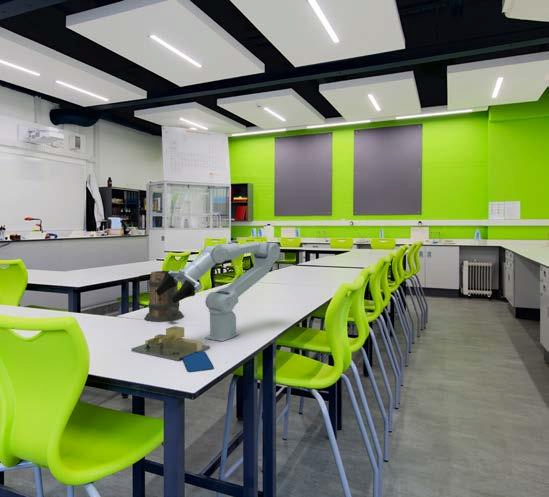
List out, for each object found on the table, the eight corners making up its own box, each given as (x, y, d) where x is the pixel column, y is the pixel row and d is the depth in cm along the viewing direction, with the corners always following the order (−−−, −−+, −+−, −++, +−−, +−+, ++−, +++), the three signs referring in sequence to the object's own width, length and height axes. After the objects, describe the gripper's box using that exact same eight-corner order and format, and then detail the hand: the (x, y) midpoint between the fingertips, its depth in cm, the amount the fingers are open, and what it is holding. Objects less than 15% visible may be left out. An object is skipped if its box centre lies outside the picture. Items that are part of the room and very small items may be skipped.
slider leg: (175, 342, 131) (174, 326, 131) (184, 344, 129) (184, 327, 129) (155, 349, 124) (155, 331, 124) (165, 351, 122) (164, 333, 122)
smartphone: (187, 371, 107) (180, 353, 121) (187, 375, 107) (180, 356, 121) (214, 368, 109) (205, 350, 123) (214, 371, 109) (205, 353, 123)
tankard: (139, 316, 176) (138, 270, 175) (177, 311, 185) (176, 268, 184) (153, 327, 156) (152, 276, 155) (194, 322, 165) (194, 273, 163)
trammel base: (164, 340, 138) (164, 330, 138) (209, 348, 128) (209, 338, 128) (131, 350, 126) (131, 340, 126) (178, 361, 116) (178, 350, 116)
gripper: (177, 255, 134) (145, 280, 127) (207, 267, 126) (175, 295, 118) (183, 271, 138) (154, 296, 131) (213, 283, 130) (183, 311, 123)
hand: (164, 297), depth 125 cm, fingers open, 7 cm apart
